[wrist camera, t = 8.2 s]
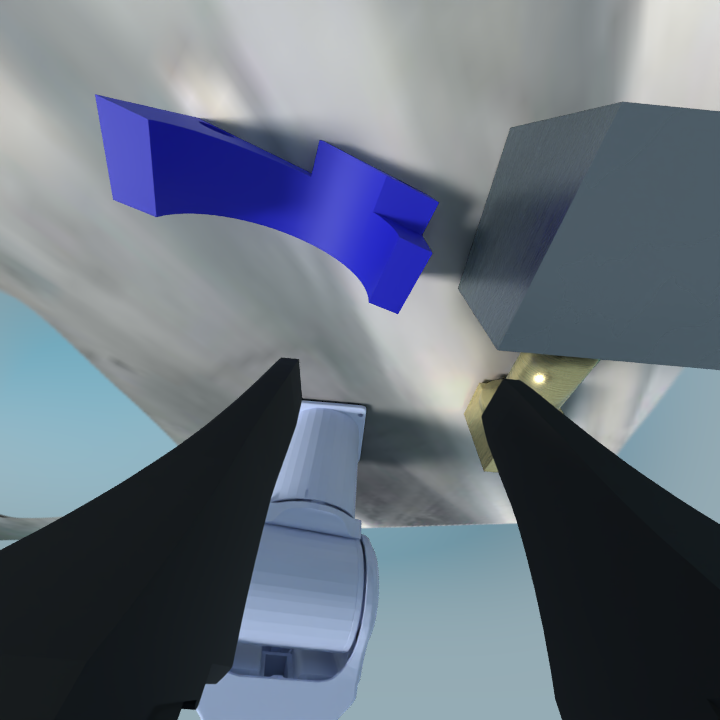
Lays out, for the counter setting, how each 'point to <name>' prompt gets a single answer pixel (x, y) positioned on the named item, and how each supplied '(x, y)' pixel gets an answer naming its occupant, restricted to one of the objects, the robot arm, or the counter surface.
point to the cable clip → (271, 193)
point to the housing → (604, 238)
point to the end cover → (541, 374)
